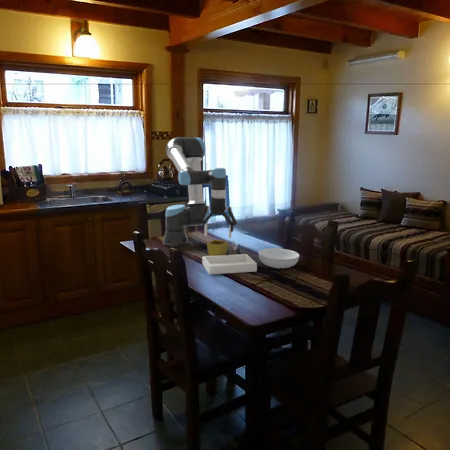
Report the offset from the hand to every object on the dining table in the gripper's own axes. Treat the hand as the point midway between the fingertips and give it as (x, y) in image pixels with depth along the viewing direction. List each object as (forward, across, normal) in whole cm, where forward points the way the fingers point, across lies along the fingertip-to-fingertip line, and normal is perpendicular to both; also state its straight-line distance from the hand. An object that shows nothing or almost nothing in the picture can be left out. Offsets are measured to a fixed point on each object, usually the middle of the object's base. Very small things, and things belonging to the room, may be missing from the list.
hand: (217, 236), depth 230 cm
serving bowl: (+13, +33, -2) cm, 36 cm away
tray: (+12, +10, -13) cm, 21 cm away
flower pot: (+12, 0, 0) cm, 12 cm away
